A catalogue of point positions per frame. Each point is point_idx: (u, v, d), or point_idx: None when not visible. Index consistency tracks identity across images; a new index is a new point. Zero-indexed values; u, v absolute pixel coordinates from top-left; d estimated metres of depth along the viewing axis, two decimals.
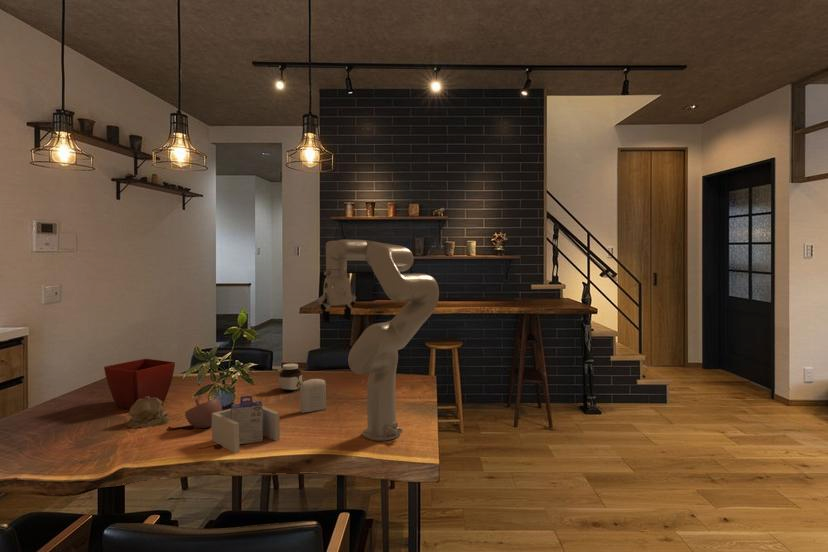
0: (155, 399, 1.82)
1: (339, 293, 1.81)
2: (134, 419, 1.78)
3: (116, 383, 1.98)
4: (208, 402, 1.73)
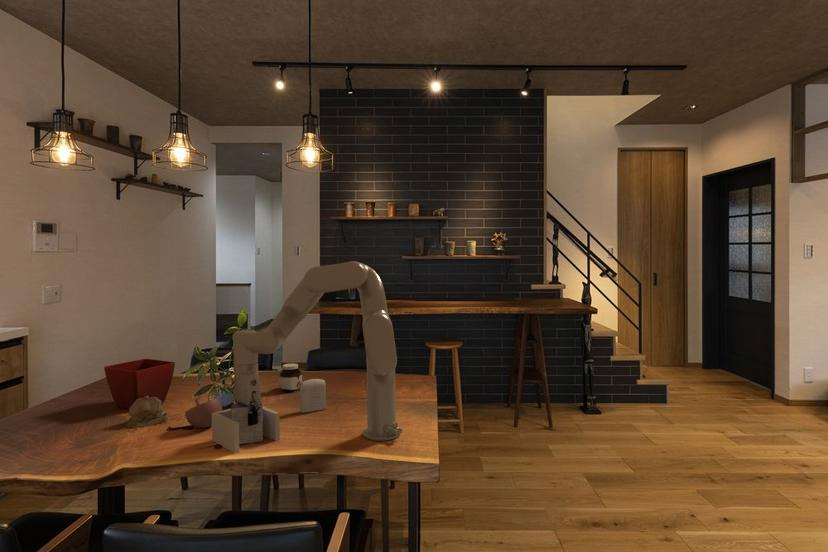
0: (155, 398, 1.83)
1: None
2: (134, 419, 1.79)
3: (116, 383, 1.98)
4: (208, 402, 1.73)
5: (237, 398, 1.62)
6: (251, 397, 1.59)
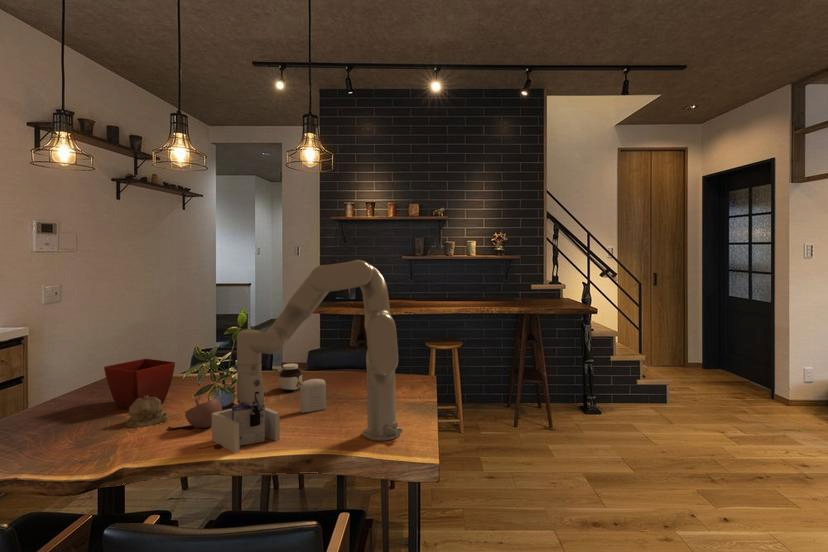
0: (155, 398, 1.83)
1: None
2: (134, 419, 1.79)
3: (116, 383, 1.98)
4: (208, 402, 1.73)
5: (240, 398, 1.60)
6: (254, 398, 1.57)
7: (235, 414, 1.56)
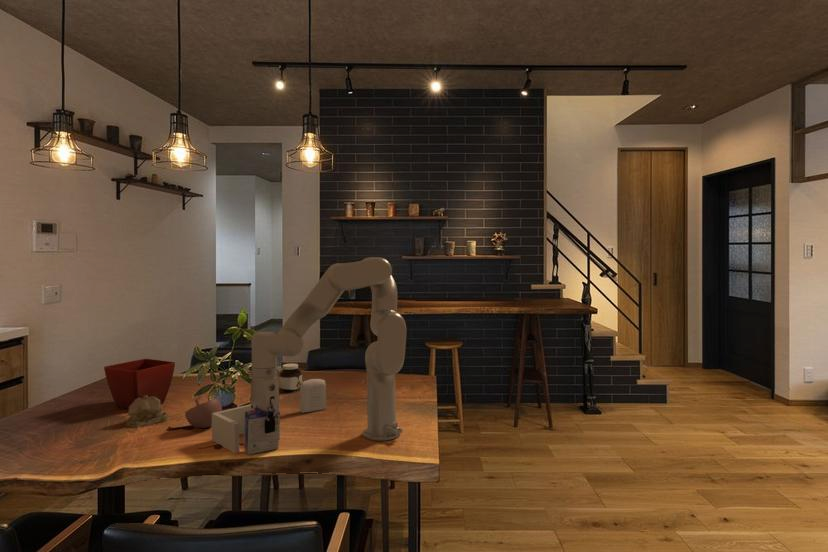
0: (154, 397, 1.84)
1: None
2: (133, 418, 1.79)
3: (116, 383, 1.98)
4: (208, 402, 1.73)
5: (254, 403, 1.53)
6: (269, 403, 1.50)
7: (250, 422, 1.49)
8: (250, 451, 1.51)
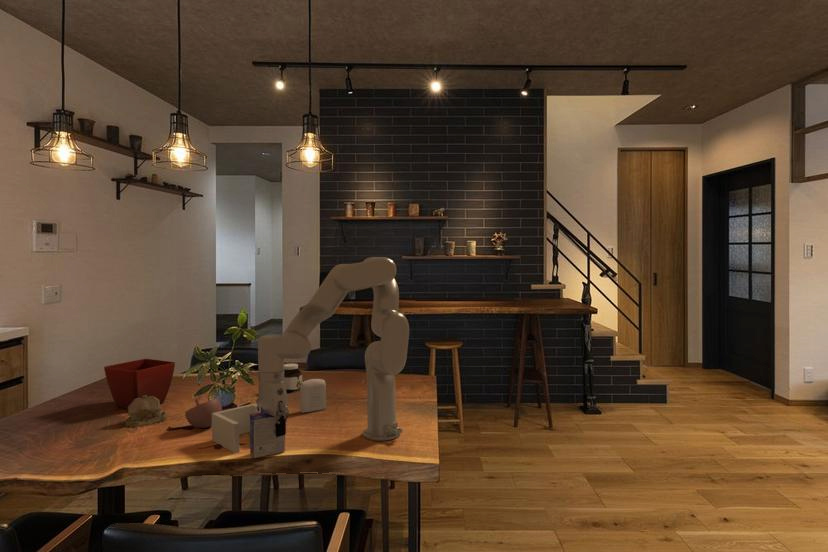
0: (153, 397, 1.84)
1: None
2: (133, 418, 1.79)
3: (116, 383, 1.98)
4: (208, 402, 1.73)
5: (262, 408, 1.51)
6: (278, 407, 1.48)
7: (255, 423, 1.48)
8: (256, 454, 1.49)
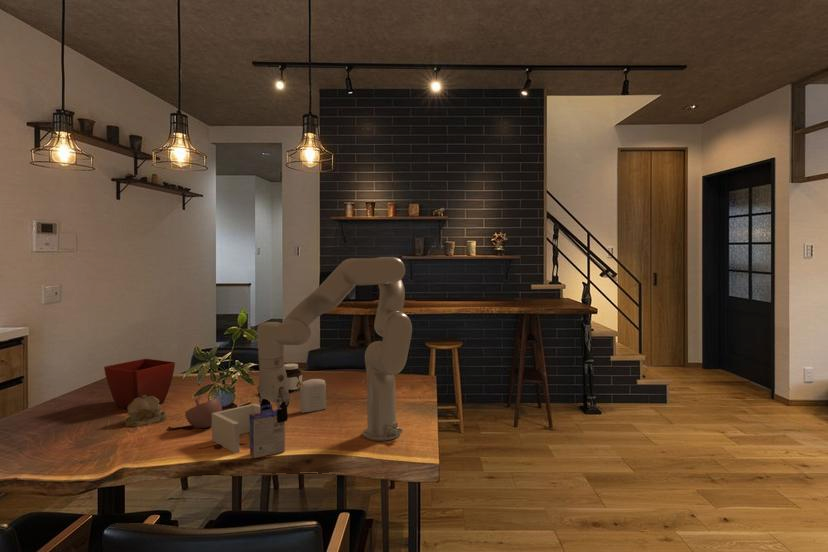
0: (153, 397, 1.84)
1: None
2: (133, 418, 1.80)
3: (116, 383, 1.98)
4: (208, 402, 1.73)
5: (263, 394, 1.51)
6: (278, 393, 1.47)
7: (255, 423, 1.48)
8: (256, 454, 1.49)
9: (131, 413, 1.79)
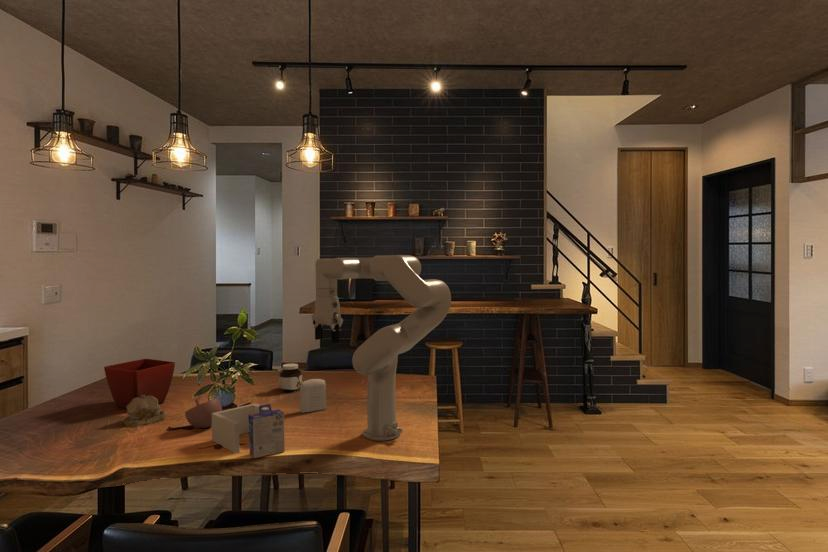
0: (152, 396, 1.85)
1: None
2: (132, 418, 1.80)
3: (116, 383, 1.98)
4: (208, 402, 1.73)
5: (319, 320, 1.77)
6: (333, 317, 1.74)
7: (254, 422, 1.49)
8: (256, 454, 1.49)
9: (130, 413, 1.79)
